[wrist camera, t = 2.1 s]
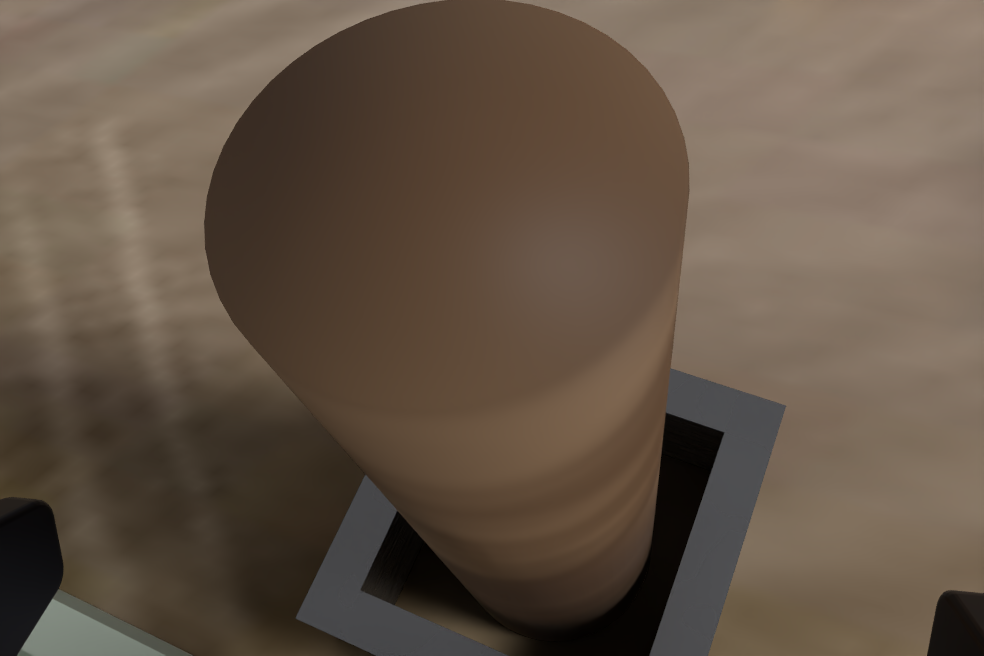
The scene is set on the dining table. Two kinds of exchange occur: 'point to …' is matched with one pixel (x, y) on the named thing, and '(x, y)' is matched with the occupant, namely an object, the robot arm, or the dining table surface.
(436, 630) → the socket
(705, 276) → the dining table surface
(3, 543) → the robot arm
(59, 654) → the tray
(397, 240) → the key peg
